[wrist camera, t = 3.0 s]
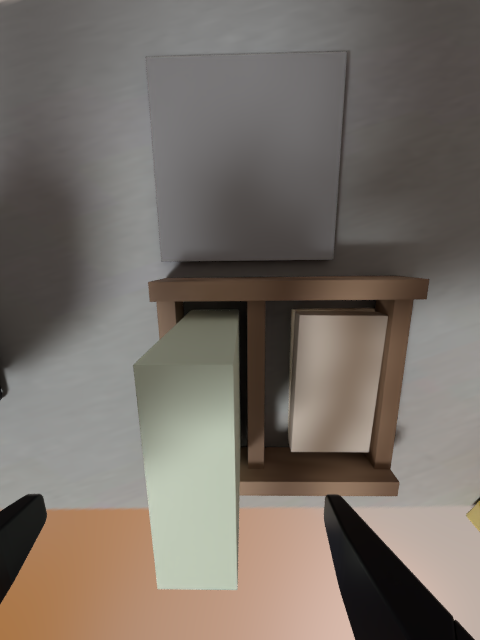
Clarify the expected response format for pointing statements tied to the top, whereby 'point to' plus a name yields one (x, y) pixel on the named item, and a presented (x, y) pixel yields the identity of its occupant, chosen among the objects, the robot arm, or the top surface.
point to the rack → (256, 460)
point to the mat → (247, 154)
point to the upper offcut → (335, 380)
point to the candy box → (475, 515)
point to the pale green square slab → (193, 449)
